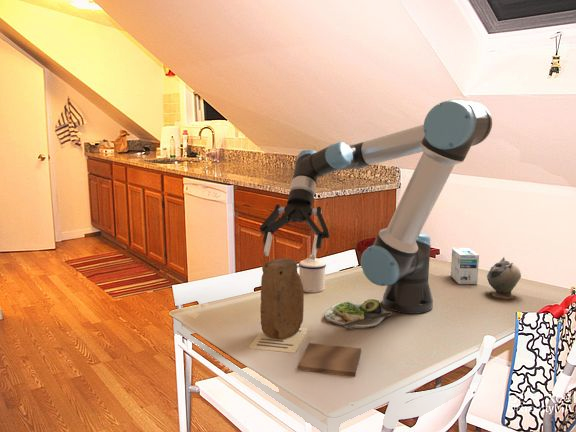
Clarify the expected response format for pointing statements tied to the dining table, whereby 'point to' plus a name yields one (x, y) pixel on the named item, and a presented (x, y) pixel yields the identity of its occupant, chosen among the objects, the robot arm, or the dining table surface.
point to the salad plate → (357, 314)
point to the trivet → (330, 359)
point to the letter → (279, 342)
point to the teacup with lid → (312, 274)
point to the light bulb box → (464, 266)
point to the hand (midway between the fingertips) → (289, 255)
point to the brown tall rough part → (281, 298)
